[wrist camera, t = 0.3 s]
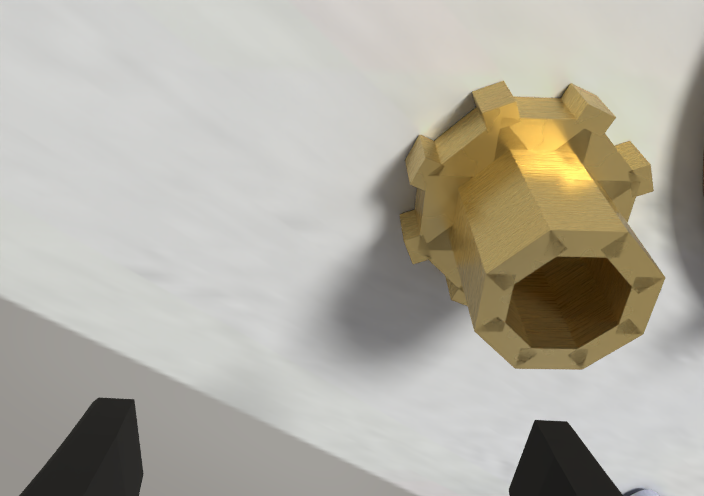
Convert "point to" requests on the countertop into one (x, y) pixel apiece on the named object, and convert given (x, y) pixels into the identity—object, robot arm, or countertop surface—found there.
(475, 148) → the brass gear
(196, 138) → the countertop surface
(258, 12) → the countertop surface
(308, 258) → the countertop surface
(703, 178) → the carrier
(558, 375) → the countertop surface
